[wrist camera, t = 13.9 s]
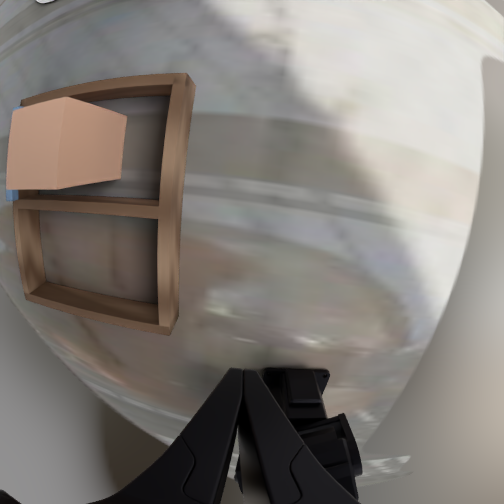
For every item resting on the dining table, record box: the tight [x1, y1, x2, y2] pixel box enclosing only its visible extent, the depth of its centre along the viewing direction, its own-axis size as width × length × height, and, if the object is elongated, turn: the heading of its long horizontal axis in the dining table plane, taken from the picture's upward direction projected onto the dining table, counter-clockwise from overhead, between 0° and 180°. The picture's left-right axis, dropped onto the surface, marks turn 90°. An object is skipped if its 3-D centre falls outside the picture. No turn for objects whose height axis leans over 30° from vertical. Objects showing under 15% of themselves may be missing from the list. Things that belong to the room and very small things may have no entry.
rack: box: [6, 73, 196, 336], centre depth 17 cm, size 18×16×4 cm
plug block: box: [6, 97, 127, 190], centre depth 14 cm, size 5×5×8 cm
